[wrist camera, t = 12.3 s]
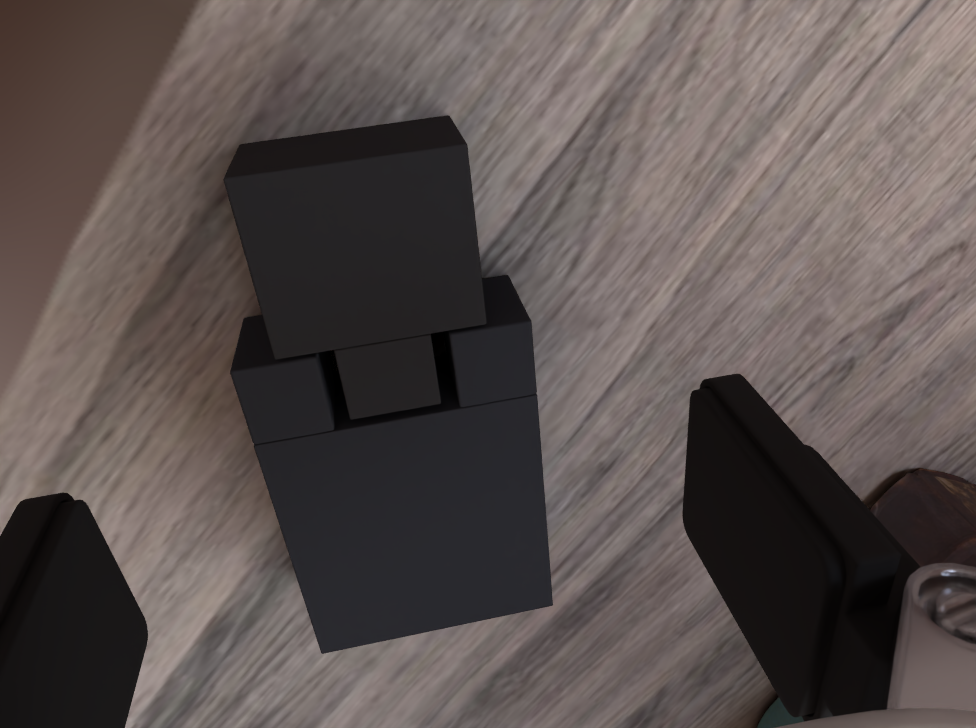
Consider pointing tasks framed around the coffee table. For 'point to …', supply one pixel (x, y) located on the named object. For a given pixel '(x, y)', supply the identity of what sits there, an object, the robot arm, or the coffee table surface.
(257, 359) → the notch pad
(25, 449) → the coffee table surface
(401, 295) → the pad
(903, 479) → the book
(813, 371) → the coffee table surface
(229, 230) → the coffee table surface
